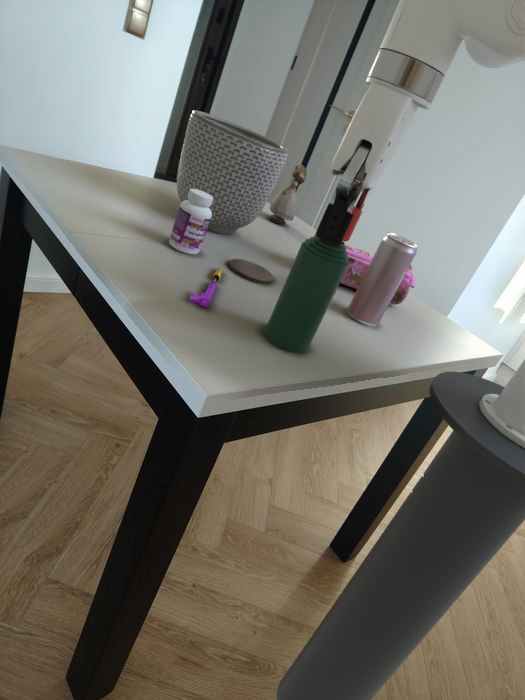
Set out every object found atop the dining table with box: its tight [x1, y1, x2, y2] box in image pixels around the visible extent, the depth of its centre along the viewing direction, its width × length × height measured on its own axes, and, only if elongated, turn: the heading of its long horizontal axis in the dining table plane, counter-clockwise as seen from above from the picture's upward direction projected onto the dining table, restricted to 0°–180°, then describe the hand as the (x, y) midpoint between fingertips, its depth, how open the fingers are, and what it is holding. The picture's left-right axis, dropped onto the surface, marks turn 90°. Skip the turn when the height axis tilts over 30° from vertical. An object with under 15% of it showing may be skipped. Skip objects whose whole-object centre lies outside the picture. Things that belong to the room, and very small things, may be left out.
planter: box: [176, 109, 290, 235], centre depth 100 cm, size 20×20×19 cm
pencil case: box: [313, 233, 416, 306], centre depth 100 cm, size 21×9×9 cm, turn 89°
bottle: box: [263, 234, 349, 354], centre depth 65 cm, size 6×6×18 cm
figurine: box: [269, 163, 308, 226], centre depth 127 cm, size 8×7×15 cm
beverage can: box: [347, 231, 419, 327], centre depth 86 cm, size 6×6×15 cm
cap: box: [343, 206, 363, 242], centre depth 61 cm, size 4×4×4 cm
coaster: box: [229, 258, 275, 285], centre depth 87 cm, size 8×8×1 cm
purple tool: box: [188, 268, 223, 308], centre depth 75 cm, size 3×1×16 cm
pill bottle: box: [168, 189, 213, 255], centre depth 83 cm, size 5×5×10 cm
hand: (332, 237), depth 62 cm, fingers closed on cap, 3 cm apart
